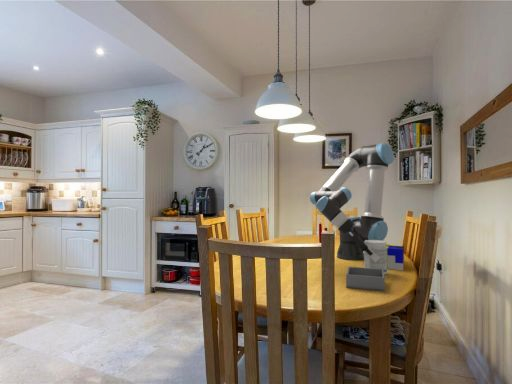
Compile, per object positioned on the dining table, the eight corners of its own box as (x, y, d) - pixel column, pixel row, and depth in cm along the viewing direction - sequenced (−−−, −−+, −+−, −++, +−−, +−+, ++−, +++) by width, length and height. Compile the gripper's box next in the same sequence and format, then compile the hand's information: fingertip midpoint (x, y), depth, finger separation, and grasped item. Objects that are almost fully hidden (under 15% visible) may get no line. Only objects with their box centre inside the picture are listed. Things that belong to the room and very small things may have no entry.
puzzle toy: (402, 270, 143) (402, 249, 143) (380, 268, 148) (380, 247, 148) (404, 266, 152) (403, 246, 152) (382, 264, 156) (382, 244, 157)
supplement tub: (391, 274, 136) (391, 241, 136) (378, 277, 131) (378, 243, 131) (372, 269, 144) (372, 239, 144) (359, 272, 139) (359, 240, 139)
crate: (348, 278, 129) (348, 266, 129) (383, 281, 124) (383, 269, 124) (346, 287, 116) (346, 274, 116) (384, 291, 111) (384, 277, 112)
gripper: (339, 226, 155) (371, 257, 150) (334, 231, 132) (371, 268, 126) (350, 216, 153) (382, 247, 148) (346, 219, 130) (384, 256, 124)
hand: (377, 257), depth 137 cm, fingers open, 13 cm apart
